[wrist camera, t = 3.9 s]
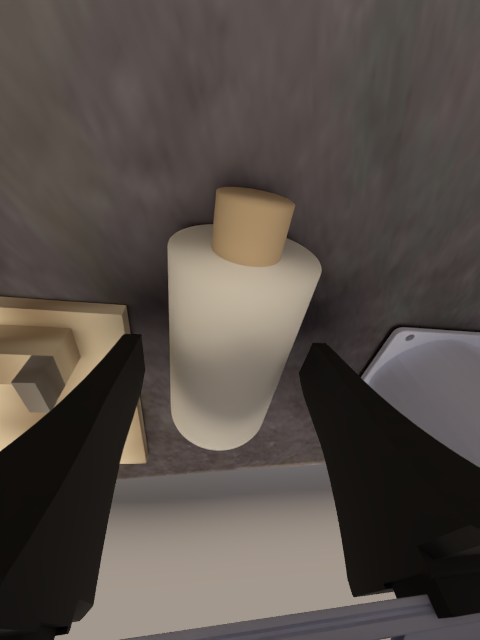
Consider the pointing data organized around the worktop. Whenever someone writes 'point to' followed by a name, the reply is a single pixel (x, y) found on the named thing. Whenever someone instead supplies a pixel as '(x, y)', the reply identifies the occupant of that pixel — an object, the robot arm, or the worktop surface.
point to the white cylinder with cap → (234, 314)
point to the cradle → (56, 361)
